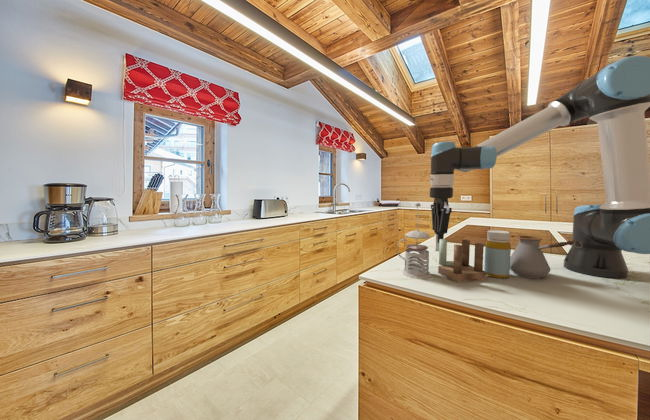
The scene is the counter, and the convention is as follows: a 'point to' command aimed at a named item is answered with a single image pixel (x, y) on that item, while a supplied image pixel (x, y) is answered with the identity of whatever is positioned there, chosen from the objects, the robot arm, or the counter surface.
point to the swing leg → (443, 253)
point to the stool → (465, 264)
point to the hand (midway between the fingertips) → (438, 250)
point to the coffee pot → (532, 257)
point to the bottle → (497, 254)
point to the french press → (416, 255)
